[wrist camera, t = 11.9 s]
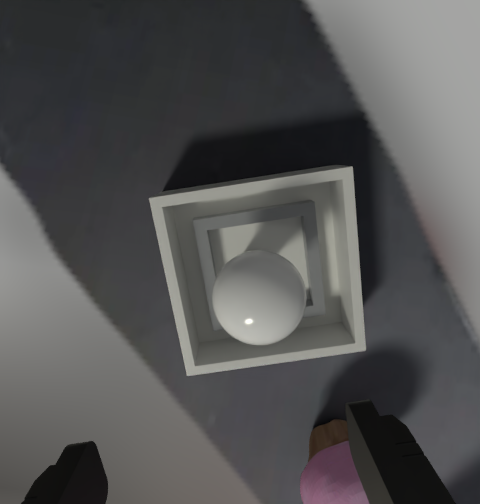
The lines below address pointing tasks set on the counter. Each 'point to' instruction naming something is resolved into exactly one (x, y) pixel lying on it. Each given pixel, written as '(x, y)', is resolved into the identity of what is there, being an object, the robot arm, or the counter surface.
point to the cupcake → (331, 468)
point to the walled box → (269, 239)
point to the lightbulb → (259, 297)
